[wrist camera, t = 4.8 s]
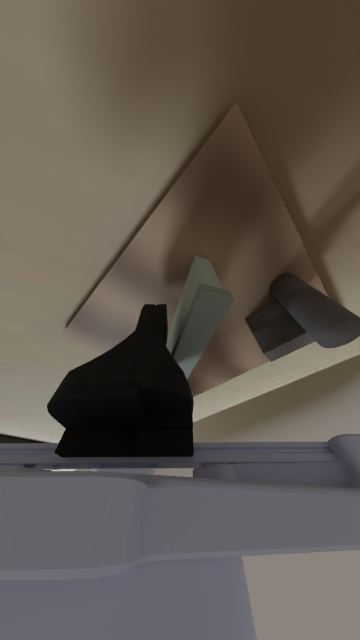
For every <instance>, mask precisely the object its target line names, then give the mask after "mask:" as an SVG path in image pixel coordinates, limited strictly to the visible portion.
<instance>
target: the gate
mask: <svg viewBox="0 0 360 640" xmlns="http://www.w3.org/2000/svg"><path fill="white" fill-rule="evenodd" d="M233 301H234V298H233V296H232V294H231V292H230V291H228V290H224V289H223V287H222V285H221V283H220V281H219V279H218V277H217V275H216V273H215V271H214V269H213V267H212V265H211V263H210V261H209V260H208V259H205V258H202V257H199V256H196V255H195V257H194V260H193V263H192V266H191V269H190V272H189V274H188V277H187V280H186V283H185V286H184V289H183V292H182V295H181V297H180V300H179V303H178V306H177V309H176V312H175V315H174V318H173V321H172V323H171V326H170V329H169V332H168V336H167V344H166V347H167V348H168V350H169V352H170V353H171V355H172V356H173V358H174V359H175V361H176V362H177V363H178V365H179V366H180V367H181V369H182V370H183V371H184V374H185V376H186V379H188V377H189V375H190V374H191V372H192V370H193V369H194V367H195V365H196V364H197V362H198V360H199V358H200V357H201V355H202V353H203V352H204V350H205V348H206V347H207V345H208V343H209V341H210V340H211V338H212V336H213V335H214V333H215V331H216V330H217V328H218V326H219V324H220V323H221V321H222V319H223V318H224V316H225V314H226V313H227V311H228V309H229V307H230V306H231V304H232V302H233Z"/></svg>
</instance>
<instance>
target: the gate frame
mask: <svg viewBox="0 0 360 640" xmlns="http://www.w3.org/2000/svg"><path fill="white" fill-rule="evenodd" d="M195 255H196V256H199V257H202V258H205V259H208V260H209V261H210V263H211V265H212V267H213V269H214V271H215V273H216V275H217V277H218V279H219V281H220V283H221V285H222V287H223V289H224V290H228V291H230V292H231V294H232V296H233V298H234V301H233V302H232V304H231V306H230V307H229V309H228V311H227V313H226V314H225V316H224V318H223V319H222V321H221V323H220V324H219V326H218V328H217V330H216V331H215V333H214V335H213V336H212V338H211V340H210V341H209V343H208V345H207V347H206V348H205V350H204V352H203V353H202V355H201V357H200V358H199V360H198V362H197V364H196V365H195V367H194V369H193V370H192V372H191V374H190V375H189V377H188V379H187V381H188V384H189V386H190V389H191V392H192V396H193V397H194V396H196V395H198V394H200V393H202V392H204V391H206V390H209V389H211V388H213V387H215V386H217V385H219V384H221V383H224V382H226V381H228V380H230V379H232V378H234V377H236V376H238V375H241V374H243V373H245V372H247V371H249V370H251V369H253V368H255V367H258V366H260V365H262V364H264V363H266V362H268V361H271V362H272V361H274V360H276V359H278V358H280V357H283V356H285V355H287V354H289V353H291V352H293V351H295V350H298V349H300V348H302V347H304V346H306V345H308V344H311V343H313V342H315V341H316V342H317V343H318V344H319V345H320V346H322V347H325V348H335V347H339V346H342V345H345V344H347V343H349V342H351V341H353V340H355V339H356V338H357V337H359V336H360V317H358V316H357V315H355V314H353V313H352V312H350V311H349V310H347V309H346V308H344V307H343V306H341V305H340V304H338V303H337V302H335V301H334V300H332V299H331V298H329V297H328V295H327V293H326V291H325V289H324V287H323V284H322V282H321V280H320V278H319V276H318V274H317V272H316V270H315V267H314V265H313V263H312V261H311V259H310V257H309V255H308V253H307V250H306V248H305V246H304V244H303V242H302V240H301V238H300V235H299V233H298V231H297V229H296V227H295V225H294V223H293V221H292V218H291V216H290V214H289V212H288V210H287V208H286V206H285V204H284V201H283V199H282V197H281V195H280V193H279V191H278V189H277V186H276V184H275V182H274V180H273V178H272V176H271V174H270V172H269V169H268V167H267V165H266V163H265V161H264V159H263V157H262V154H261V152H260V150H259V148H258V146H257V144H256V142H255V140H254V137H253V135H252V133H251V131H250V129H249V127H248V125H247V123H246V120H245V118H244V116H243V114H242V112H241V110H240V108H239V105H238V103H237V101H236V102H235V104H234V105H233V106H232V108H231V109H230V110H229V112H228V113H227V114H226V116H225V117H224V118H223V120H222V121H221V122H220V124H219V125H218V126H217V128H216V129H215V130H214V132H213V133H212V134H211V136H210V137H209V138H208V140H207V141H206V142H205V144H204V145H203V146H202V148H201V149H200V150H199V152H198V153H197V154H196V156H195V157H194V158H193V160H192V161H191V162H190V164H189V165H188V166H187V168H186V169H185V170H184V172H183V173H182V174H181V176H180V177H179V178H178V180H177V181H176V182H175V184H174V185H173V186H172V188H171V189H170V190H169V192H168V193H167V194H166V196H165V197H164V198H163V200H162V201H161V202H160V204H159V205H158V206H157V208H156V209H155V210H154V212H153V213H152V214H151V216H150V217H149V218H148V220H147V221H146V222H145V224H144V225H143V226H142V228H141V229H140V230H139V232H138V233H137V234H136V236H135V237H134V238H133V240H132V241H131V242H130V244H129V245H128V246H127V248H126V249H125V250H124V252H123V253H122V254H121V256H120V257H119V258H118V260H117V261H116V262H115V264H114V265H113V266H112V268H111V269H110V270H109V272H108V273H107V274H106V276H105V277H104V278H103V280H102V281H101V282H100V284H99V285H98V286H97V288H96V289H95V290H94V292H93V293H92V294H91V296H90V297H89V298H88V300H87V301H86V302H85V304H84V305H83V306H82V308H81V309H80V310H79V312H78V313H77V314H76V316H75V317H74V318H73V320H72V321H71V322H70V324H69V325H68V326H67V328H66V329H65V330H64V332H63V333H62V334H61V336H60V337H61V338H63V339H65V340H67V341H69V342H71V343H73V344H75V345H77V346H79V347H81V348H83V349H85V350H87V351H89V352H91V353H93V354H95V355H97V356H100V355H102V354H104V353H105V352H107V351H108V350H110V349H111V348H113V347H114V346H116V345H117V344H119V343H120V342H121V341H123V340H124V339H125V338H127V337H128V336H129V335H130V334H131V333H133V332H134V331H135V329H136V326H137V323H138V319H139V316H140V313H141V309H142V308H143V306H144V305H145V304H155V305H157V304H167V320H168V332H169V329H170V326H171V323H172V321H173V318H174V315H175V312H176V309H177V306H178V303H179V300H180V297H181V295H182V292H183V289H184V286H185V283H186V280H187V277H188V274H189V272H190V269H191V266H192V263H193V260H194V257H195Z"/></svg>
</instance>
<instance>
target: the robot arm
mask: <svg viewBox="0 0 360 640" xmlns="http://www.w3.org/2000/svg"><path fill="white" fill-rule="evenodd" d="M167 336H168V320H167V304H157V305H155V304H145V305H144V306H143V308H142V309H141V313H140V316H139V319H138V323H137V326H136V329H135V331H134V332H133V333H131V334H130V335H129V336H128V337H127V338H125V339H124V340H123V341H121V342H120V343H119V344H117V345H116V346H114V347H113V348H111V349H110V350H108V351H107V352H105V353H104V354H102V355H100V356H98V357H97V358H95V359H93V360H91V361H89V362H87V363H85V364H83V365H81V366H79V367H77V368H75V369H73V370H71V371H69V372H68V374H67V375H66V377H65V378H64V379H63V381H62V382H61V384H60V386H59V387H58V389H57V390H56V392H55V393H54V395H53V397H52V398H51V400H50V401H49V403H48V405H47V409H48V412H49V413H50V415H51V416H52V417H53V418H54V419H55V420H57V421H58V422H59V423H60V424H61V425H62V426H63V427H65V428H66V430H65V432H64V434H63V436H62V438H61V440H60V442H59V443H39V444H0V640H257V639H256V634H255V628H254V622H253V617H252V611H251V605H250V600H249V594H248V588H247V583H246V577H245V572H244V566H243V560H242V556H253V555H272V554H290V553H309V552H327V551H346V550H360V434H343V435H338V436H335V437H333V438H331V439H330V440H329V441H328V442H243V443H242V442H240V443H239V442H237V443H235V442H226V443H193V430H192V428H193V420H192V413H193V396H192V392H191V389H190V386H189V384H188V381H187V379H186V376H185V374H184V371H183V370H182V369H181V367H180V366H179V365H178V363H177V362H176V361H175V359H174V358H173V356H172V355H171V353H170V352H169V350H168V348H167V347H166V344H167ZM155 468H194V470H193V477H177V476H162V475H161V476H160V475H155ZM44 469H92V471H51V470H44Z"/></svg>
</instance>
